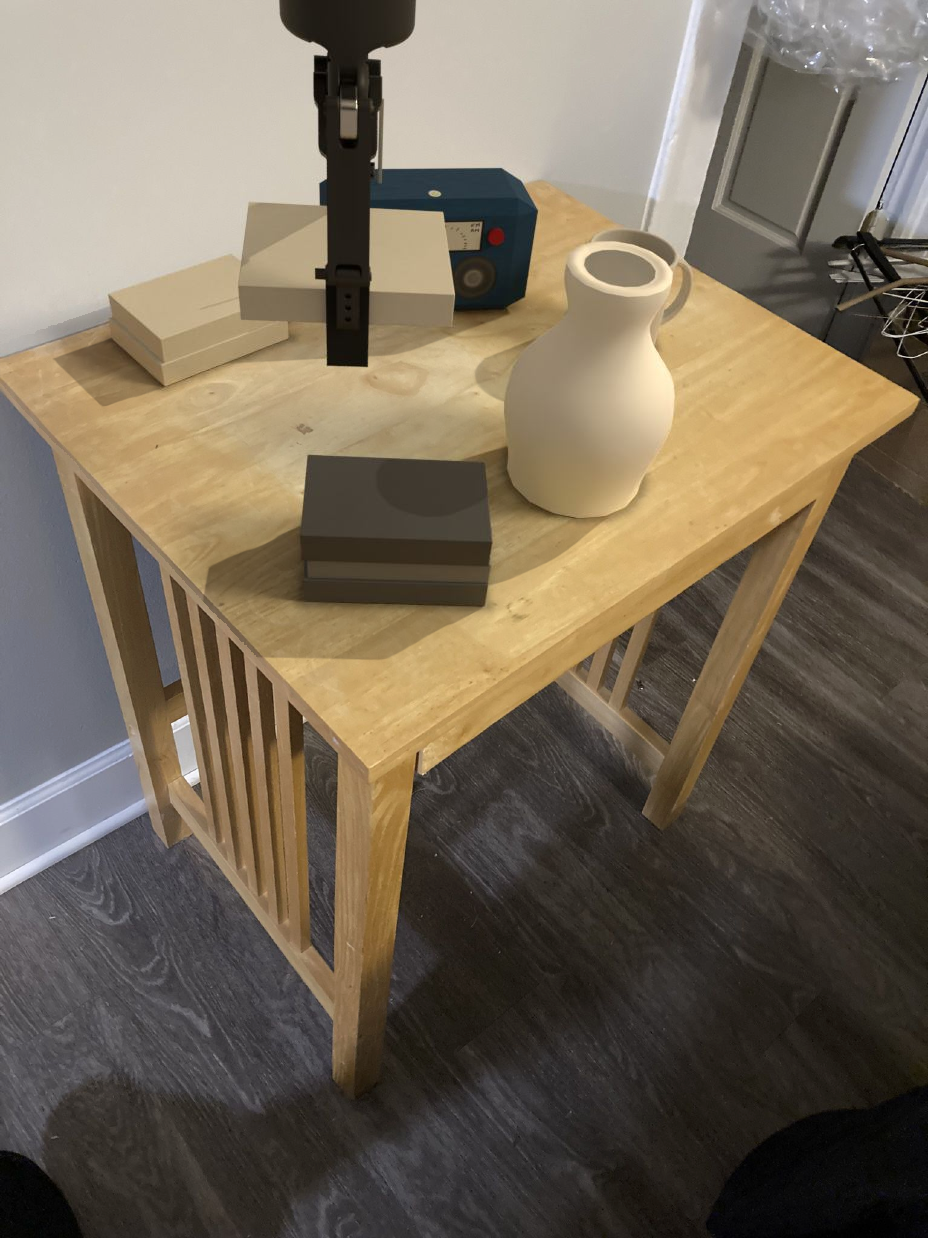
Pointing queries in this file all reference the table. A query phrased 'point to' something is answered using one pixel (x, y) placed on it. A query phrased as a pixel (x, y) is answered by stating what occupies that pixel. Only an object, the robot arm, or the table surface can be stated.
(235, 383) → the table surface
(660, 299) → the vase
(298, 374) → the table surface
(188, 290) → the beige rectangular block
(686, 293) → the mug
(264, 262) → the beige flat block
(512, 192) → the radio
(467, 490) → the dark brown box
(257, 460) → the table surface
